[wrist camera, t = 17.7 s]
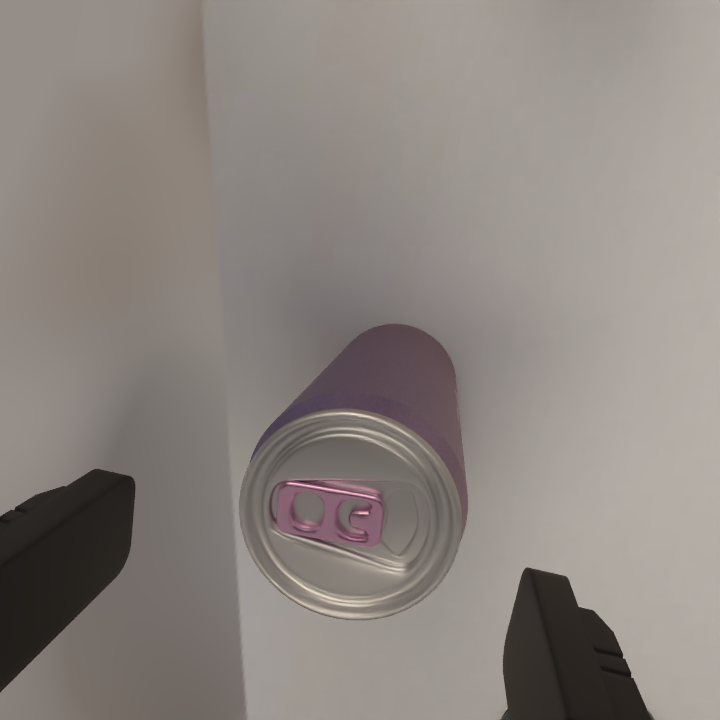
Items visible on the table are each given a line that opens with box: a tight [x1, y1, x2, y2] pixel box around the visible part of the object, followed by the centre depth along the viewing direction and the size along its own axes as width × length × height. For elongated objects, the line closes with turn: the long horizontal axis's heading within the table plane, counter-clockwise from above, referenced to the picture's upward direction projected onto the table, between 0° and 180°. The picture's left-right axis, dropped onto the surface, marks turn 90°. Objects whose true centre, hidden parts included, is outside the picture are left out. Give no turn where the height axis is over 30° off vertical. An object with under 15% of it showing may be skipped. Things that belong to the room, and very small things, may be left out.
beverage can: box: [239, 324, 468, 620], centre depth 21 cm, size 6×6×15 cm
